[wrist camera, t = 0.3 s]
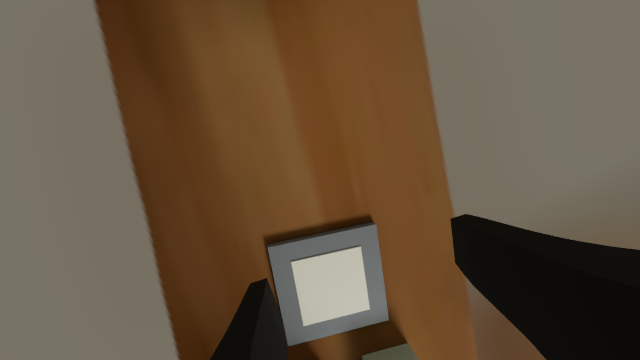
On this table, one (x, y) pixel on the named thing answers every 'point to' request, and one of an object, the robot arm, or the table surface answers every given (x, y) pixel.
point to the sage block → (392, 354)
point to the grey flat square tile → (329, 282)
